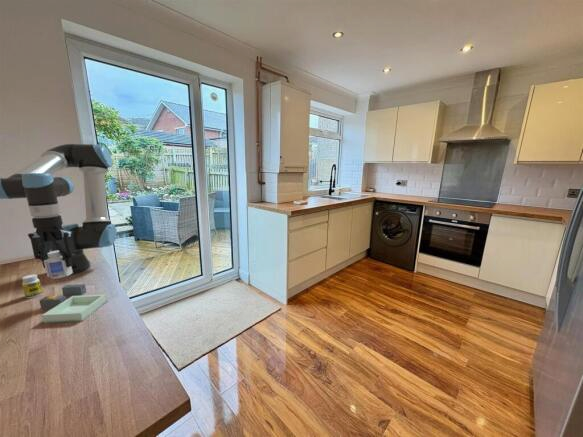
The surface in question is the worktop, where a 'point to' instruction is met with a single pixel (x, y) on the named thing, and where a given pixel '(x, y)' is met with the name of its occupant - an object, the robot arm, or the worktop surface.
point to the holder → (56, 300)
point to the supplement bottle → (31, 286)
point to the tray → (75, 309)
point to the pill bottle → (55, 264)
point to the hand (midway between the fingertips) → (60, 274)
